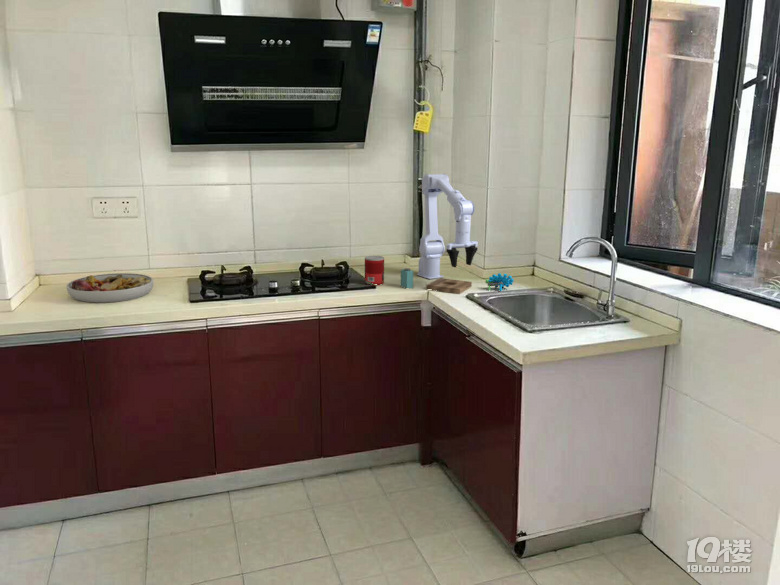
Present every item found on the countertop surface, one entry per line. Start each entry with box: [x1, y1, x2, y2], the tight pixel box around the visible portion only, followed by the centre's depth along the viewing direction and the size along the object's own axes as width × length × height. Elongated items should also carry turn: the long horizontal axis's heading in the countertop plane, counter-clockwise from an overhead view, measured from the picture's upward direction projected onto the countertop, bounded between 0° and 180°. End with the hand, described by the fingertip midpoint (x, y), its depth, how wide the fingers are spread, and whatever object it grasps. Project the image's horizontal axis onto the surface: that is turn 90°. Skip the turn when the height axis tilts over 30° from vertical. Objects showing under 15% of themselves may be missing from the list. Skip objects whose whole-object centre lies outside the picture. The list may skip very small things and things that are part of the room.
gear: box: [485, 272, 515, 291], centre depth 257 cm, size 11×6×10 cm
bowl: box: [66, 272, 154, 304], centre depth 242 cm, size 30×30×8 cm
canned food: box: [364, 255, 385, 286], centre depth 264 cm, size 8×8×11 cm
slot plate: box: [426, 277, 473, 295], centre depth 259 cm, size 14×14×2 cm
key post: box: [400, 267, 414, 289], centre depth 259 cm, size 4×3×8 cm
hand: (461, 265), depth 255 cm, fingers open, 7 cm apart
